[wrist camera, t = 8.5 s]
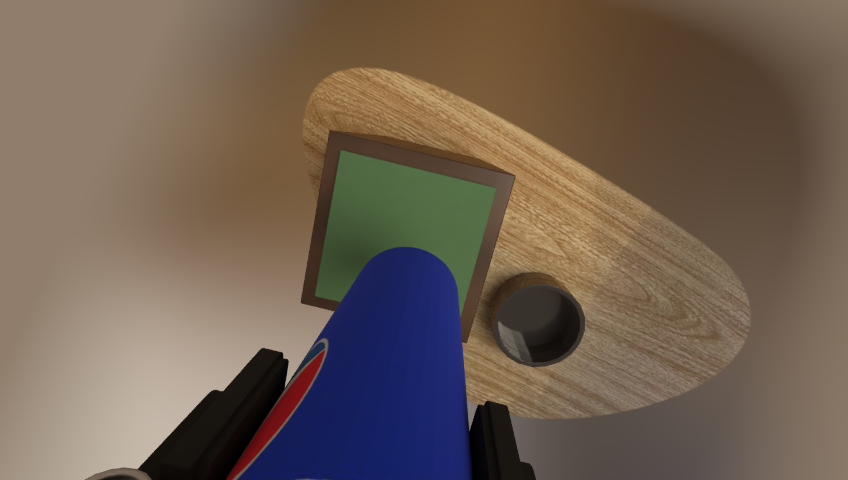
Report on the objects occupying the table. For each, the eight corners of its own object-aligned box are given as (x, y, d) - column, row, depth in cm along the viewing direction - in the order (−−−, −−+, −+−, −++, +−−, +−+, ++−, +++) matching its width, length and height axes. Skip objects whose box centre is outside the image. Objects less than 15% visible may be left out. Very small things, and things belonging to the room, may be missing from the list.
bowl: (502, 263, 52) (508, 274, 47) (584, 283, 52) (597, 296, 48) (480, 338, 55) (483, 355, 50) (558, 357, 55) (568, 375, 50)
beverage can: (370, 231, 19) (146, 500, 5) (470, 258, 20) (540, 602, 5) (348, 323, 21) (122, 748, 6) (442, 348, 21) (435, 826, 6)
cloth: (342, 149, 25) (340, 150, 24) (496, 187, 25) (497, 188, 24) (316, 293, 27) (314, 296, 27) (456, 327, 27) (456, 330, 27)
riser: (386, 136, 49) (329, 130, 24) (480, 159, 49) (516, 175, 25) (368, 228, 52) (300, 303, 27) (456, 249, 52) (466, 343, 27)
